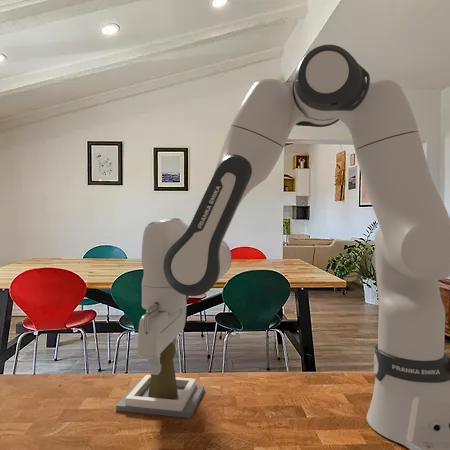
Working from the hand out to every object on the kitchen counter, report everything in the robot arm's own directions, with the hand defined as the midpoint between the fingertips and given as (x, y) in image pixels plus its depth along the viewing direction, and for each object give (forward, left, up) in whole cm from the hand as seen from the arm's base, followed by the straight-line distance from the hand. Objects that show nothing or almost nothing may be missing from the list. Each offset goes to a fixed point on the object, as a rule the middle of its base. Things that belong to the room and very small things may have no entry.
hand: (163, 364), depth 83 cm
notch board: (0, 0, -8) cm, 8 cm away
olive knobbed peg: (0, 0, -7) cm, 7 cm away
